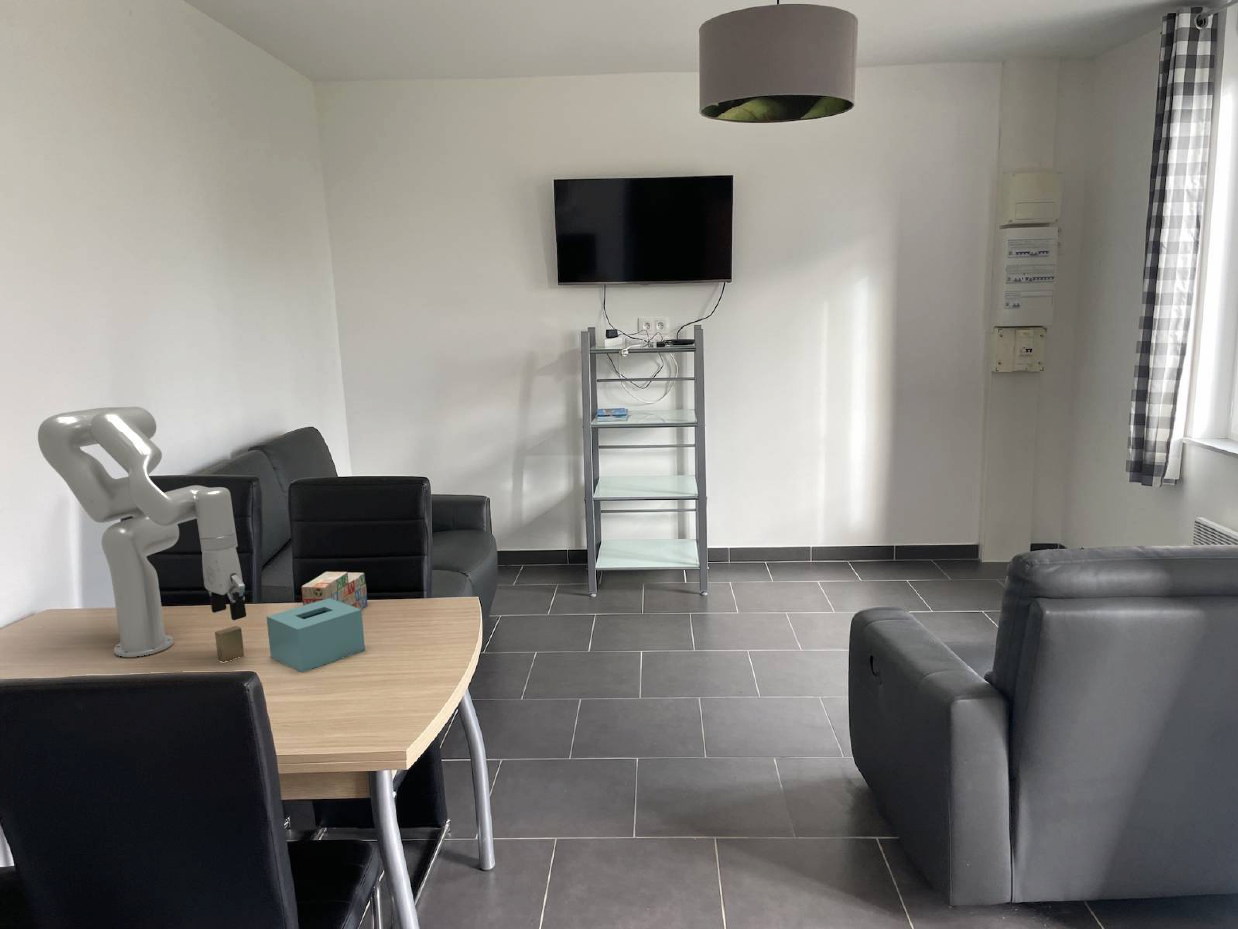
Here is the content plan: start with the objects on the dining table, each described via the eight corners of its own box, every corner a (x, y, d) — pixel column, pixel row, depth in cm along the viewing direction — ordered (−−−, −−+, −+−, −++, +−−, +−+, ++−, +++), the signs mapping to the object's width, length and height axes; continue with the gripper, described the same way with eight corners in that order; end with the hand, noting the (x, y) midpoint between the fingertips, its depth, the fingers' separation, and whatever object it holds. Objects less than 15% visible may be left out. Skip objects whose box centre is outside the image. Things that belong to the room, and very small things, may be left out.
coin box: (270, 657, 206) (266, 616, 204) (332, 637, 217) (329, 598, 216) (302, 672, 196) (297, 629, 195) (364, 650, 208) (361, 609, 207)
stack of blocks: (346, 604, 242) (342, 561, 240) (368, 605, 241) (364, 561, 238) (305, 633, 221) (300, 585, 219) (328, 634, 220) (324, 586, 218)
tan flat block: (218, 660, 205) (214, 632, 204) (239, 654, 208) (236, 625, 207) (223, 663, 203) (219, 634, 202) (244, 656, 207) (241, 628, 206)
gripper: (185, 541, 204) (196, 612, 207) (219, 551, 192) (230, 626, 195) (218, 534, 209) (227, 603, 212) (253, 543, 198) (263, 616, 201)
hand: (229, 614), depth 204 cm, fingers open, 9 cm apart
